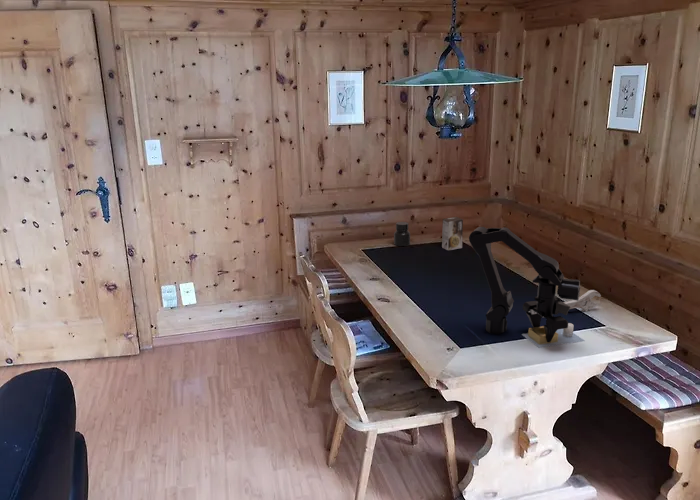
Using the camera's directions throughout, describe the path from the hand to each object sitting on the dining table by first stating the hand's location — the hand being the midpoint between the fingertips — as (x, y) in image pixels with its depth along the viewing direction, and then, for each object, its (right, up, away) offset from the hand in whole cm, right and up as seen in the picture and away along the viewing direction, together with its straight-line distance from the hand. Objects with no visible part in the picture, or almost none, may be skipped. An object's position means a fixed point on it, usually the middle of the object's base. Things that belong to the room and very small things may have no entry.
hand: (542, 337), depth 197 cm
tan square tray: (0, 0, 0) cm, 0 cm away
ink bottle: (-38, +33, +118) cm, 128 cm away
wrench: (+16, +5, +24) cm, 29 cm away
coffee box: (-12, +31, +109) cm, 114 cm away
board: (+4, -1, +1) cm, 4 cm away
